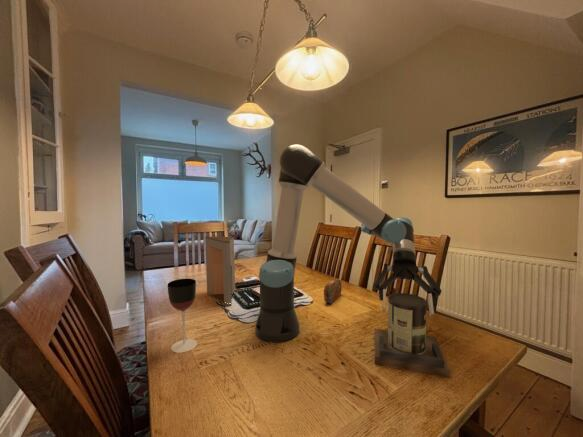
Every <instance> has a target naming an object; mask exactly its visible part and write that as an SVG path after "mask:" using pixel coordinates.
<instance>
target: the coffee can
mask: <svg viewBox="0 0 583 437" xmlns="http://www.w3.org/2000/svg"><path fill="white" fill-rule="evenodd" d="M387 300H388V307H387V308H388V314H387V316H388V321H387V322H388V323H387V324H388V325H387V330H388V345H389V347H390V348H391V349H392V350H395V351H401V352H407V353H414V354H420V355H423V354H424V353H425V352H426V336H427V310H428V309H427V308H428V307H427V306H428V300H426V299H425V298H424V297H421V296H418V295H416V294H412V293H404V292H403V293H402V292H401V293H400V292H398V293H392V294H391V293H390V294H389V295H388V297H387Z"/></svg>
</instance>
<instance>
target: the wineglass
mask: <svg viewBox="0 0 583 437" xmlns="http://www.w3.org/2000/svg"><path fill="white" fill-rule="evenodd" d="M196 288H197V281H196V279H194V278H179V279H175V280H172V281H169V282H168V283H167V292H168V293H167V294H168V299H169V303H170V304H171V307H172V308H174V309H176V310H178V311H180V312H181V323H182V326H181V327H182V339H181V340H179V341H177V342H175V343H173V344H172V345H171V347H170V349H171V351H172V352H174V353H177V354H178V353H180V354H181V353H187V352H188V351H191V350H193V349H194V348H196V346H197V345H198V341H197V340H196V339H193V338H187V337H186V320H185V319H186V318H185V317H186V316H185V315H186V314H185V311H186V310H187V309H189V308H190V307H191V306H192V305H193V304H194V301H195V298H196ZM186 338H187V339H186Z"/></svg>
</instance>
